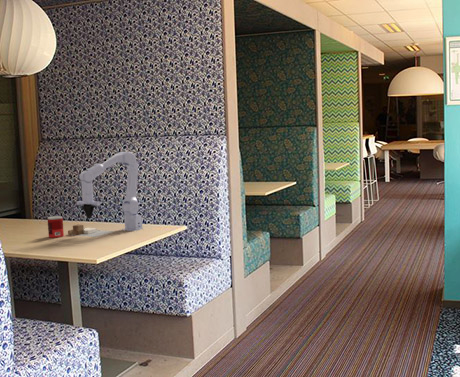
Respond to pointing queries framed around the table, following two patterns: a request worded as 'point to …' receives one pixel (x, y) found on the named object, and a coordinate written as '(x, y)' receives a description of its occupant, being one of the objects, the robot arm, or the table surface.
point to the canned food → (55, 227)
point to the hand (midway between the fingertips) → (89, 218)
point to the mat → (96, 233)
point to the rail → (70, 232)
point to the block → (78, 229)
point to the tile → (89, 230)
